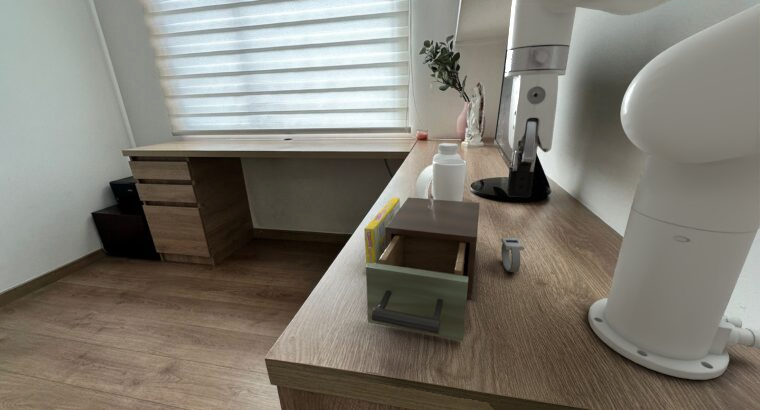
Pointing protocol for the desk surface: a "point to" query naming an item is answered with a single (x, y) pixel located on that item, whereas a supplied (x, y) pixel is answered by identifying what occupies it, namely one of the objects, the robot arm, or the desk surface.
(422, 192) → the headphone stand
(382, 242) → the candy box
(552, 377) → the desk surface
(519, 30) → the robot arm
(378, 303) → the drawer
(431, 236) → the cabinet
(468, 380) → the desk surface
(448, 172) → the white tall cylinder
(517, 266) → the wristwatch
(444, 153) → the pill bottle
